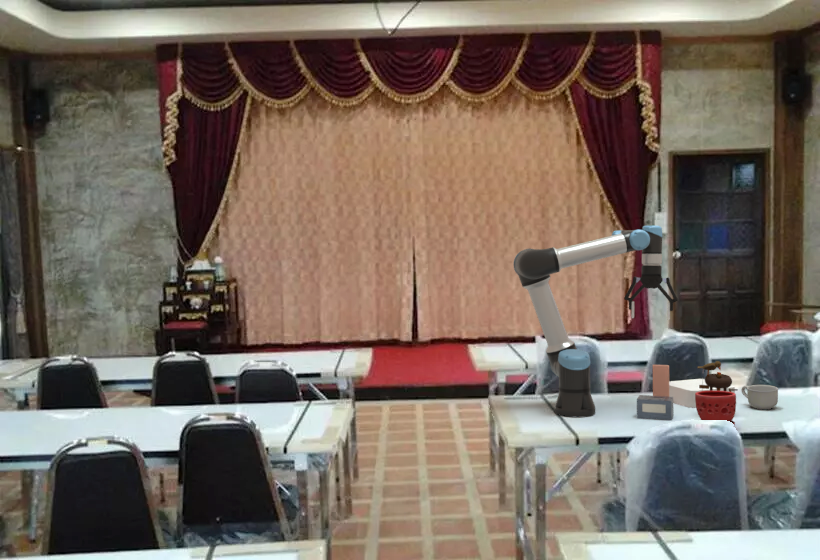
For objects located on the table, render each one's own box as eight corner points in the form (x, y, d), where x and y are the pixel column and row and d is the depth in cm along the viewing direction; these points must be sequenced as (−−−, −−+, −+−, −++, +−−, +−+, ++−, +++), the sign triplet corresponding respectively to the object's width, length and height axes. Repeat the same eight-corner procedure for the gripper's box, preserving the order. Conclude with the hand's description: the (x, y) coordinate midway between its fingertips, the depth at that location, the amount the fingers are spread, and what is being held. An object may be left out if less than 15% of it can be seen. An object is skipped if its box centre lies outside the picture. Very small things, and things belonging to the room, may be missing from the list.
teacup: (784, 409, 293) (784, 388, 292) (762, 412, 289) (762, 390, 288) (755, 402, 306) (755, 382, 305) (734, 405, 302) (734, 384, 301)
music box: (703, 418, 282) (703, 363, 281) (691, 411, 293) (691, 358, 292) (745, 416, 282) (744, 361, 281) (731, 410, 293) (731, 357, 292)
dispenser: (636, 418, 284) (636, 398, 284) (639, 413, 292) (639, 394, 291) (671, 420, 279) (671, 400, 279) (673, 415, 287) (673, 395, 287)
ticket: (653, 405, 304) (652, 365, 304) (653, 405, 306) (653, 364, 305) (669, 406, 302) (668, 365, 301) (669, 406, 303) (669, 365, 303)
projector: (740, 404, 305) (740, 386, 304) (692, 409, 298) (692, 391, 298) (705, 394, 325) (705, 378, 324) (659, 399, 318) (659, 382, 318)
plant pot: (740, 425, 269) (740, 391, 269) (730, 433, 259) (730, 397, 258) (701, 421, 277) (701, 387, 277) (690, 428, 267) (690, 394, 266)
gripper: (685, 265, 305) (684, 319, 306) (620, 264, 315) (619, 316, 316) (684, 265, 299) (683, 320, 299) (617, 264, 308) (616, 318, 309)
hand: (650, 318), depth 308 cm, fingers open, 13 cm apart
